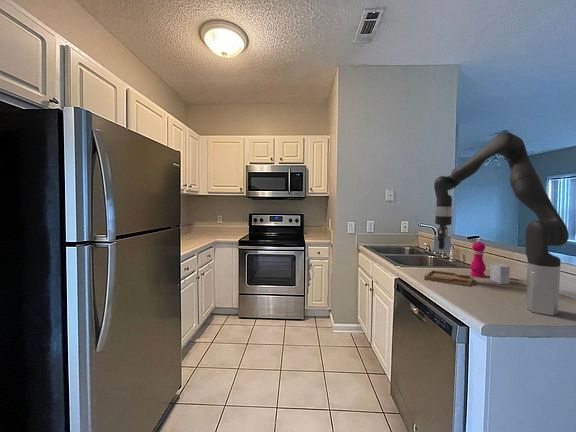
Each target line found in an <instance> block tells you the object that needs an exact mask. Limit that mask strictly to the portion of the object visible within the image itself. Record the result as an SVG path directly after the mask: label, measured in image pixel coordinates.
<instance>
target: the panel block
mask: <svg viewBox="0 0 576 432" xmlns="http://www.w3.org/2000/svg"><path fill="white" fill-rule="evenodd" d="M440 238H442V237H440ZM433 240H434V241H433V252H436V253H447V254H449V253H451V248H452V246H451V243H452V236H450V235H449V236H448V235H447V236H446V237H445V238H444V240H445V241H444V249H439V241H438V234H437V235H434V237H433Z"/></svg>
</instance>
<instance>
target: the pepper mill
mask: <svg viewBox="0 0 576 432" xmlns="http://www.w3.org/2000/svg"><path fill="white" fill-rule="evenodd" d="M471 247H472V250H473V251H472V253H473V260H472V261H471V263H470V267H469V268H470V270H471V271H470V276H473V278H474V277H475V278H476V277H477V278H484V277H485V276H486V275H485V273H484V272H486V271H487V270H486V269H487V268H486V263H485V262H484V260H483V256H484V255H485V249H486V246H485V244H484V243H483V242H482V241H481V239H479V238H478V239H476V241H475V242H474V243H472V246H471Z"/></svg>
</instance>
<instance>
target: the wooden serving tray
mask: <svg viewBox="0 0 576 432" xmlns="http://www.w3.org/2000/svg"><path fill="white" fill-rule="evenodd" d="M423 280H424V281H429V280H430V281H431V282H435V281H436V283H442V282H443V283H444V284H450V285H455V286H464V287H470V286H471V285H472V283H473V281H474V276H471V275H467V274H459V273H455V272H447V271H442V270H429V272H428V273H426V274H425V275H424V279H423ZM443 283H442V284H443Z"/></svg>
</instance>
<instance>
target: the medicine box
mask: <svg viewBox="0 0 576 432" xmlns="http://www.w3.org/2000/svg"><path fill="white" fill-rule="evenodd" d="M510 269H511V268H510V266H509V265H505V264H501V263H490V278H489V279H490V281H493V282H495V283H497V284H499V285H500V284H501V285H509V284H510V272H511V271H510Z"/></svg>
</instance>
